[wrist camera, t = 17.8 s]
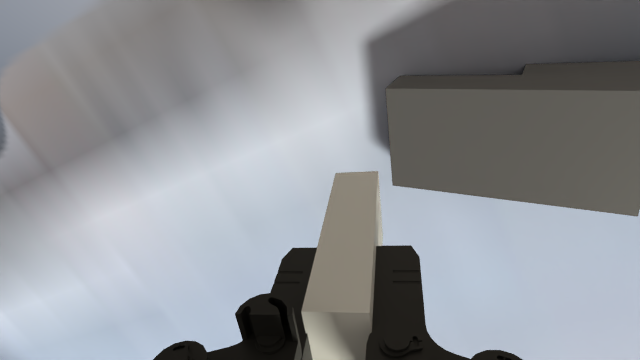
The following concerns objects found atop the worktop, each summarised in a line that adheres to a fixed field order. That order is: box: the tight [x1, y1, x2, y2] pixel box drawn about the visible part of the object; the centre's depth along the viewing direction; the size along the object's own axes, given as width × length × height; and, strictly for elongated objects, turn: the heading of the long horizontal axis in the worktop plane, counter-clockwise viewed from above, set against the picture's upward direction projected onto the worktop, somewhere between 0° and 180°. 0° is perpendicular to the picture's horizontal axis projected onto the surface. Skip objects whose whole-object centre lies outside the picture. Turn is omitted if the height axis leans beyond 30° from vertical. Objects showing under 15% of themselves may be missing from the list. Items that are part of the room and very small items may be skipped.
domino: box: [386, 74, 640, 216], centre depth 18 cm, size 2×5×10 cm
